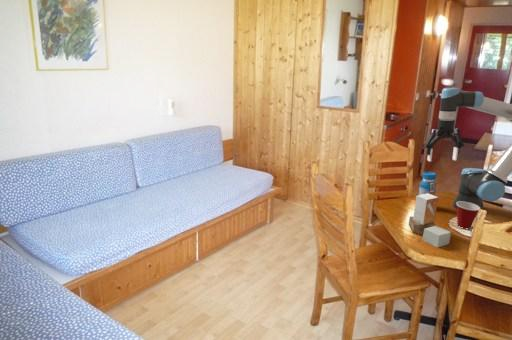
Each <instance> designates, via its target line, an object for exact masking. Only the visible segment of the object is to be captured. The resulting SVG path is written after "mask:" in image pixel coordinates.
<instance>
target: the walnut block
mask: <svg viewBox="0 0 512 340" xmlns="http://www.w3.org/2000/svg"><path fill="white" fill-rule="evenodd" d="M413 217H414V216H409V220H408V227H409V228H410V231H411V233H412V234H419V235H423V233H424V229H425V228H429V227H433V226H437V225H436V224H435V221H434V222H431V223H428V224H424V225H423V224H420V223H418V222H416V221H414V220H413Z"/></svg>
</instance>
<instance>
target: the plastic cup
mask: <svg viewBox="0 0 512 340" xmlns="http://www.w3.org/2000/svg"><path fill="white" fill-rule="evenodd" d="M456 204H457V208H456V220H457V224H456V225H457V227H458V226H460V227H463V228H470V227H471V228H472V225H473V223H474V221H475V219H476V216H477V214H478V213H479V212H478V210H479V209H480V207H479V206H478V205H475V204H473V203H470V202H465V201H459V202H456ZM460 227H459V228H460ZM471 228H470V229H471Z"/></svg>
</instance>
